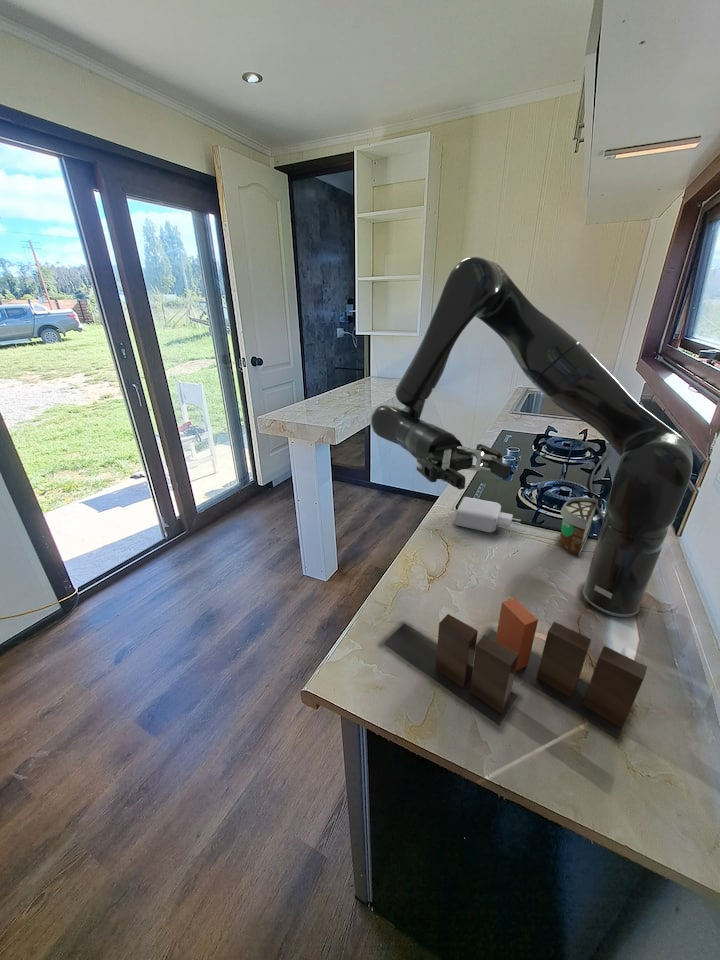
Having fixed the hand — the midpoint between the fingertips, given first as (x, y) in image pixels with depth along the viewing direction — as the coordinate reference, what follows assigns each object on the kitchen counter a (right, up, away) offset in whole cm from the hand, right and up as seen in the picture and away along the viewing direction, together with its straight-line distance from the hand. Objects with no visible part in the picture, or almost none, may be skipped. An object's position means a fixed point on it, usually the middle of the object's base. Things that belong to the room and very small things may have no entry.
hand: (486, 478), depth 60 cm
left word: (-6, -31, +1) cm, 31 cm away
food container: (+30, -15, +31) cm, 46 cm away
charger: (+13, -12, +39) cm, 43 cm away
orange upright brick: (+5, -29, +3) cm, 30 cm away
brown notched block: (+10, -31, -1) cm, 33 cm away
